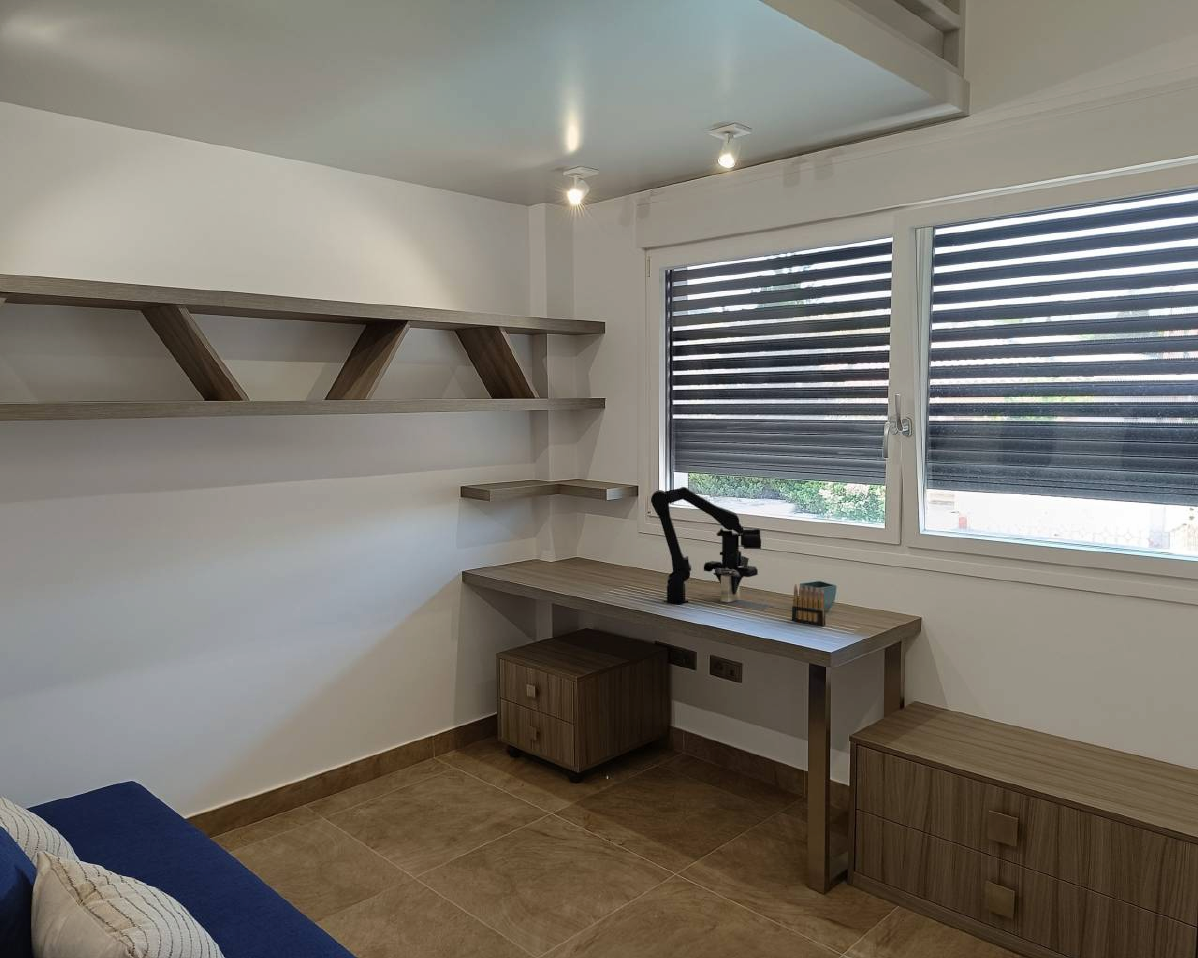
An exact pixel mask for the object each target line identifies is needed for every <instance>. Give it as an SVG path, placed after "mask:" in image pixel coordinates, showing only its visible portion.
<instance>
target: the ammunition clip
mask: <svg viewBox="0 0 1198 958" xmlns="http://www.w3.org/2000/svg"><path fill="white" fill-rule="evenodd" d="M791 608H792V610H791V621H792V622H793V623H796V624H802V625H809V626H813V627H814V626H816V627H820V628H821V627H822V628H824V627H826V612H825V609H824V592H823V588H821V590H820V599H819V596H818V588H817V587H816V588H815V595H814V599H813V589H812V586H811V587H810V591H809V599H808V589H807V586H805V589H804V598H803V589H802V585H800V584H799V589H798V585H797V584H796V583H795V584H794V588H793V597H792V607H791Z"/></svg>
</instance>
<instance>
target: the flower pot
mask: <svg viewBox="0 0 1198 958" xmlns="http://www.w3.org/2000/svg"><path fill="white" fill-rule="evenodd" d="M800 585H802V589H803V598H804V589H805V586H807V589H808V599H809V591H810V587H811V586H812V589H813V599H814V595H815V588H816V587H817V588H818V596H819V599H820V590H821V588H823V592H824V609H825V613H827V612H829V611H830V609H832V607H833V605H834V603H835V600H836V593H837V587H838V585H836V584H832V583H828V582H825V581H822V580H815V581H809V582H803V583H799V586H800Z"/></svg>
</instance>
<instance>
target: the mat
mask: <svg viewBox="0 0 1198 958" xmlns="http://www.w3.org/2000/svg"><path fill="white" fill-rule="evenodd" d="M715 603H717V604H721V605H728V606H730V605H731V606H734V607H740V608H746V609H753V610H759V611H763V610H767V609H769V608H772V607H774V605H771V604H766V603H759V602H753V601H747V600H743V599H742V600H741V599H737V600H734V601H731V602H723V601H721V600H719V601H717V602H715Z"/></svg>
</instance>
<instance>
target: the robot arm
mask: <svg viewBox="0 0 1198 958" xmlns="http://www.w3.org/2000/svg"><path fill="white" fill-rule="evenodd" d="M682 500H683V501H685V502H686V503H688V504H690V505H692V506H693V507H696V508H697V509H699V510H701V511H702V512H704V513H705V514H707V515H709V516H710V517H711V518H713V519H714V520H715V521H716V522H717V523H719V524H720V525H721V526H722V527H723V528H721V527H720V529H719V531H717V532H716V537H721V551H719V555H720V556H721V561H714V560H711V561H707V562H705V563H704V564H703V571H704V572H709V573H710V572H712V571H713V570H714V572H713V575H714V576H715V577H716V578H717V580H718V583H719V584H720V585H721V575H723V574H727V573H731V572H734V575H732V576H731V583H732V592H733V594H736V591H737V589H738V586H739V583H741V582H742V579H743V578H751V577H755V576H757V575H758V574H759V572H758V571H759V570H758V568H757V567H756V566H752V565H748V564H749V559H750V558H748V557H746V556H743V555H742V552H741V550H740V547H743V550H760V549H761V547H762V539H761V529H760V528H755V529H752V528H751V529H746V528H745V529H744V526H743V525H742V524H740V518H739V517H738V514H737V513H736V512H734V511H731V510H729V509H726V508H724V507H720V506H717V505H715V504H713V503H712V502H711V501H709V500H707V499H705V498H703V497H702V496H700V495H698V494H697V493H695V492H693V490H690V489H689V488H688V487H686V486H682V487H680V488H675V489H669V490H665V491H664V490H662V489H661V490H660V489H659V490H656V491H654V492H653V493H652V495H651V499H650V502H651V506H652V507H653V510H654V511H655V513H656V514H657V516H658V518H659V521H660V523H661V527H662V531H663V533H664V536H665V540H666V543H667V546H668V550H669V553H670V556H671V557H670V558H671V565H672V566H671V567H672V572H671V573H670V574H669V575H668V576H667V580H666V581H667V585H666V599H665V600H663V603H666V604H671V605H672V604H673V605H681V604H684V603H688V602H690V601H689V599H686V582H687V581H688V580H689V579H690V577H691V571H692V566H691V564H690V561H689V556H684V554H683V553H682V549H681V547H680V543H679V540H678V537H677V534H676V533H677V532H676V530H675V528H674V524H673V521H672V516H671V510H670V504H673V503H676V502H678V501H682ZM724 529H726V530H724ZM733 531H734V532H733ZM739 543H740V546H739Z"/></svg>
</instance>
